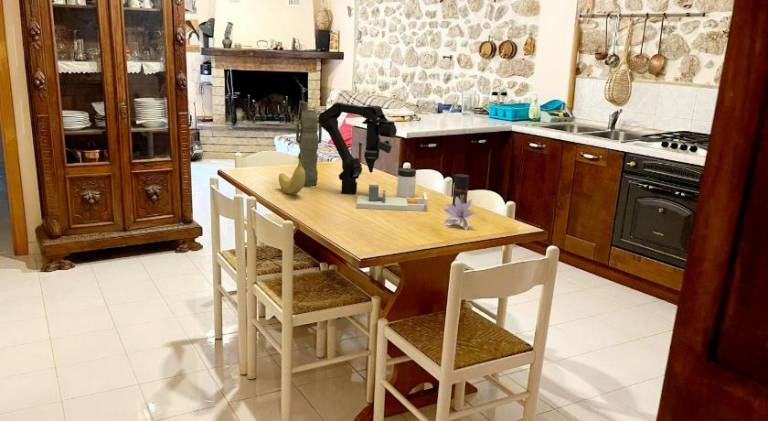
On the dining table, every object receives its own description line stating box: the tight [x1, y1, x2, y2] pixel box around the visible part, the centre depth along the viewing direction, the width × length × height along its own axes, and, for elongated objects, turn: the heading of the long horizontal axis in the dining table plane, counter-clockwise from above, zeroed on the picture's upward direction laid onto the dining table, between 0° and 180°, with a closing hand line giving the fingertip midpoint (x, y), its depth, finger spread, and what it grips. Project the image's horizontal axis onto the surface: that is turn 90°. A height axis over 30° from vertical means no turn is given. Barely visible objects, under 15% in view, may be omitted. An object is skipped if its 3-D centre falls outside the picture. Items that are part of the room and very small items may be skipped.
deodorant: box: [451, 173, 470, 207], centre depth 257 cm, size 6×6×15 cm
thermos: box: [295, 109, 323, 188], centre depth 286 cm, size 9×12×35 cm
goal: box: [407, 192, 429, 212], centre depth 261 cm, size 8×12×5 cm
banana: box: [278, 152, 305, 195], centre depth 270 cm, size 23×6×20 cm, turn 32°
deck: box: [356, 195, 408, 212], centre depth 261 cm, size 21×14×2 cm, turn 90°
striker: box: [368, 184, 387, 202], centre depth 260 cm, size 7×7×6 cm
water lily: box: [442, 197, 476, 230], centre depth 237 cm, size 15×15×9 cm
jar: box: [396, 167, 417, 198], centre depth 279 cm, size 9×8×12 cm
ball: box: [408, 197, 417, 204], centre depth 261 cm, size 4×4×4 cm
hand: (371, 170), depth 271 cm, fingers open, 9 cm apart
